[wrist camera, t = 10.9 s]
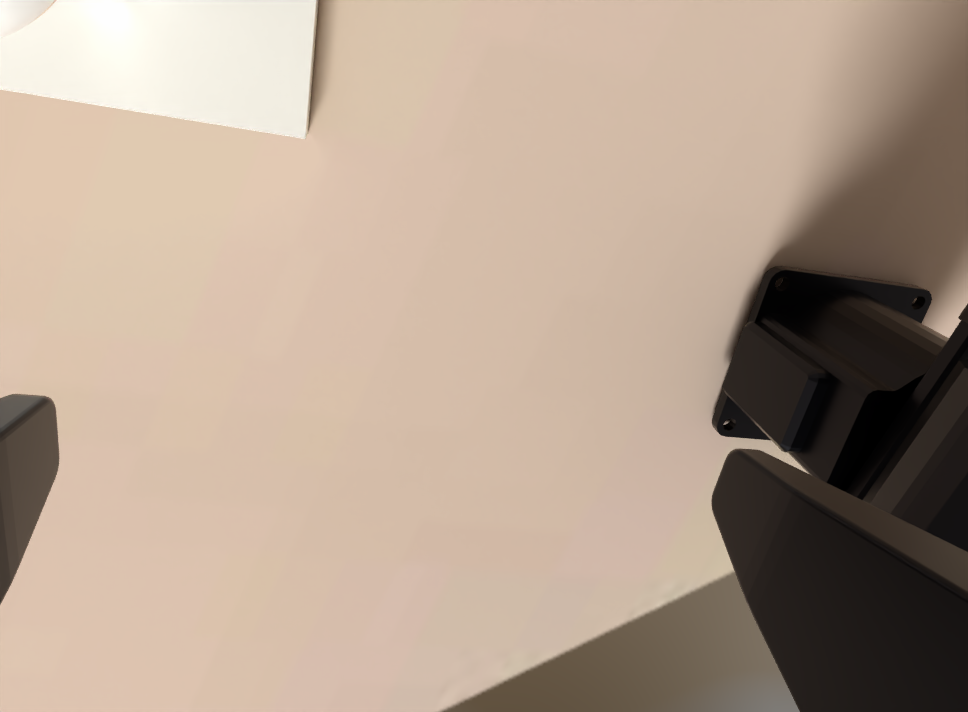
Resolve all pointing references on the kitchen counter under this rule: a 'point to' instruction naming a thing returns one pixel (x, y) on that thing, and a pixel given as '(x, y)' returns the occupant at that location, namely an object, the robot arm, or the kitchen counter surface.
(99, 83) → the pad
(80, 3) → the milkshake
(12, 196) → the kitchen counter surface
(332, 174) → the kitchen counter surface
